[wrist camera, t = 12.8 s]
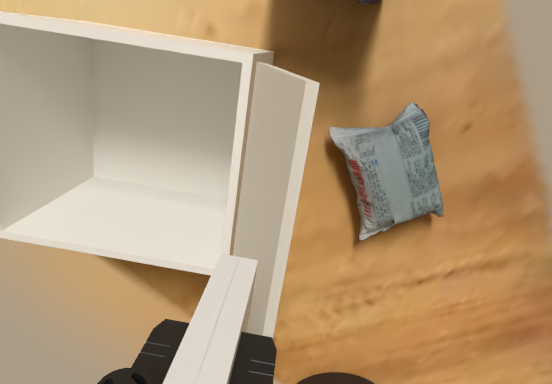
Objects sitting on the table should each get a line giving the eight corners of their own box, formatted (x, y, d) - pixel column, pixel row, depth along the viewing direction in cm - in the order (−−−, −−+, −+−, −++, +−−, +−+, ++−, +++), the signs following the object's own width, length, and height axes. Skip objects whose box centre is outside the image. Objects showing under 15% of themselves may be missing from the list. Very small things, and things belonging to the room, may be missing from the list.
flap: (230, 276, 28) (238, 276, 29) (257, 367, 21) (267, 366, 21) (256, 61, 23) (266, 63, 23) (306, 81, 15) (320, 82, 16)
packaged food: (356, 228, 42) (362, 250, 37) (327, 124, 38) (330, 134, 34) (438, 207, 40) (455, 227, 36) (415, 97, 37) (431, 103, 32)
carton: (253, 206, 42) (226, 278, 29) (92, 178, 42) (-6, 236, 29) (274, 51, 36) (253, 53, 23) (88, 21, 37) (-36, 7, 24)
